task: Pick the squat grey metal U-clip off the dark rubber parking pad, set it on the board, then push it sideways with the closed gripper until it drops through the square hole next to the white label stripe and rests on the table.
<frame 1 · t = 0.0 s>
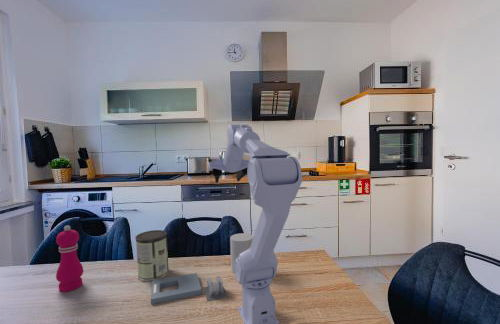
hand: (227, 179, 91), 32 cm above the table, tool tilted 50°, fingers open, 7 cm apart
pad: (215, 293, 77), on the table
board: (176, 290, 79), on the table
clip: (215, 292, 77), resting on pad
pepper mill: (70, 287, 83), on the table
coffee can: (153, 274, 90), on the table
cup: (242, 270, 91), on the table
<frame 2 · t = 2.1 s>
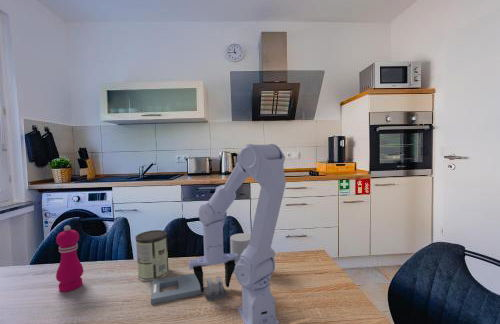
hand: (214, 288, 77), 2 cm above the table, tool pointing down, fingers open, 7 cm apart
nothing on the table moved.
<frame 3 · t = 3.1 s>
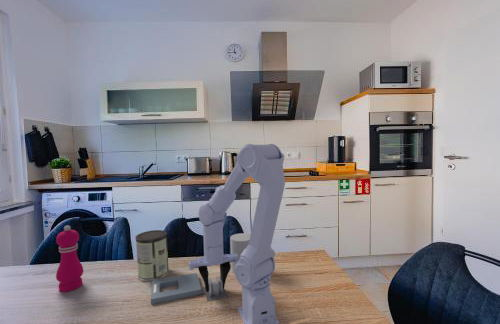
hand: (214, 288, 77), 1 cm above the table, tool pointing down, fingers closed on clip, 4 cm apart
clip: (214, 292, 77), resting on pad, touching gripper
everything else where it was.
when the fingers open (3 cm above the table, at t = 5.2 s): clip stays where it is, resting on board.
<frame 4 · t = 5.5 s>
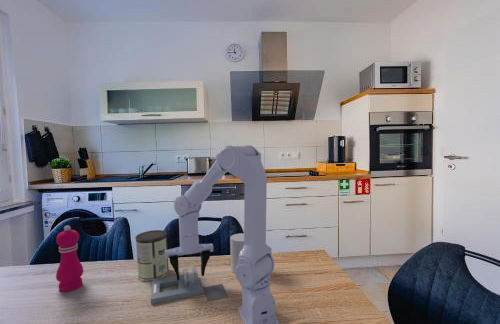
hand: (190, 276, 81), 4 cm above the table, tool pointing down, fingers open, 7 cm apart
clip: (190, 282, 81), point 2 cm above the table, touching board
everything else where it was.
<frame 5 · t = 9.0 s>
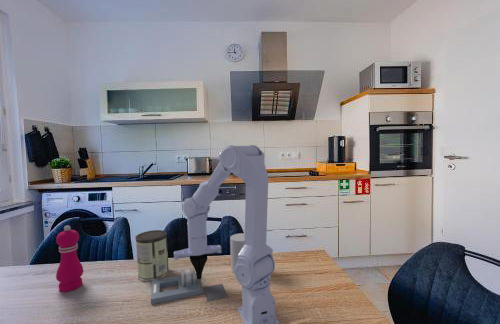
hand: (198, 277, 81), 3 cm above the table, tool pointing down, fingers closed
clip: (188, 282, 80), point 2 cm above the table, touching gripper
everything else where it was.
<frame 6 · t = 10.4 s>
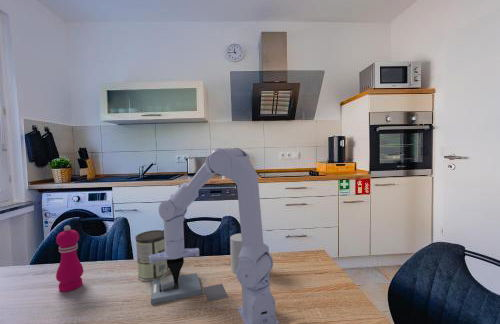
hand: (176, 281, 79), 3 cm above the table, tool pointing down, fingers closed
clip: (173, 284, 79), point 2 cm above the table, tilted 91°, touching gripper
everything else where it was.
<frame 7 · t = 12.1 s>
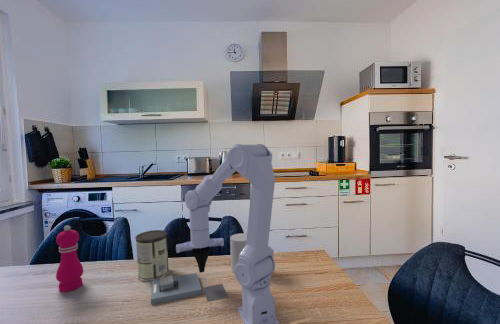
hand: (201, 271, 81), 5 cm above the table, tool pointing down, fingers closed
clip: (172, 284, 79), point 2 cm above the table, tilted 90°
everything else where it was.
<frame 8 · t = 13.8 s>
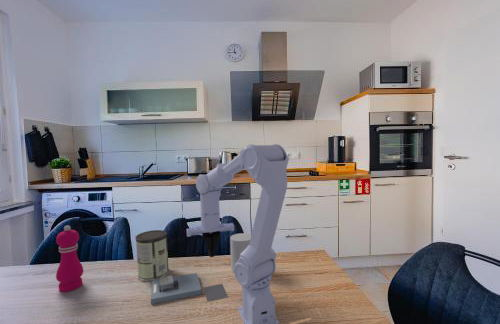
hand: (211, 255, 80), 10 cm above the table, tool pointing down, fingers closed
nothing on the table moved.
at the end: clip 1.2 cm from the target spot on the board, point 1.9 cm above the board's base; clip touching table; the gripper is holding nothing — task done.
